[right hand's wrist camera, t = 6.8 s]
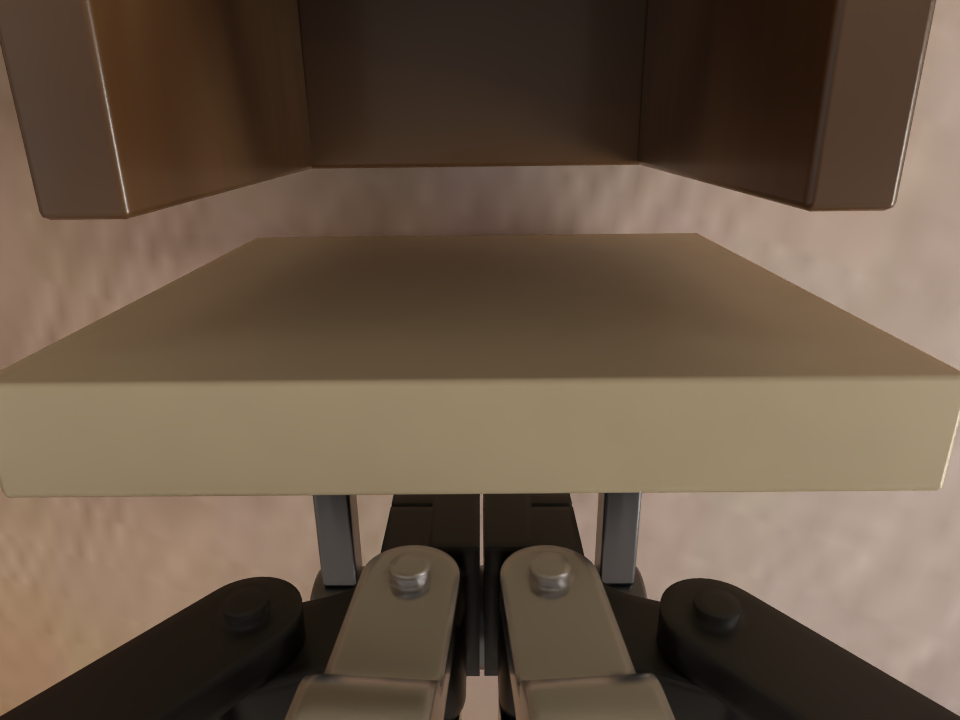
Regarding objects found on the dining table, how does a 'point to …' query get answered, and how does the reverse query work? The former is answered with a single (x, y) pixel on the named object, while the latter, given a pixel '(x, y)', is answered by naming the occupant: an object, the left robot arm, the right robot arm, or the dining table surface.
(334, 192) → the dining table surface
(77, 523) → the dining table surface
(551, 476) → the drawer
